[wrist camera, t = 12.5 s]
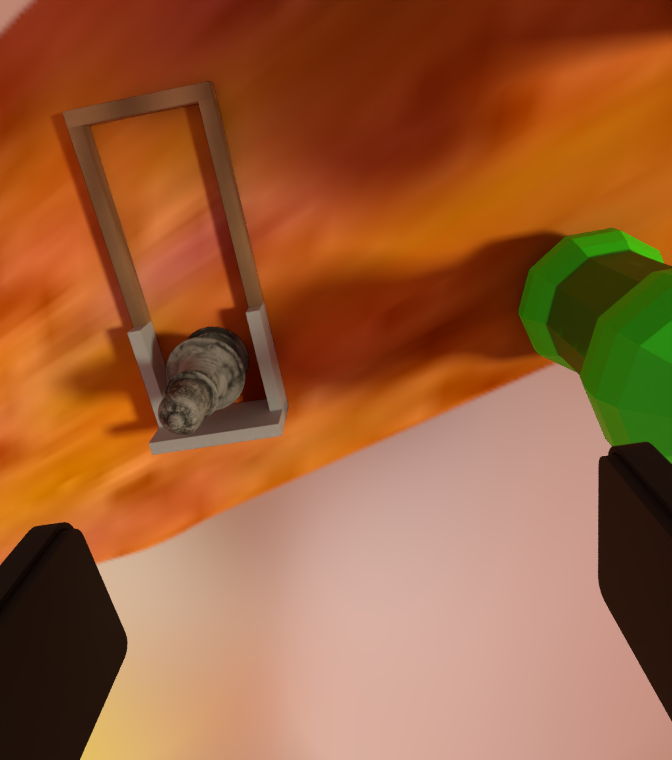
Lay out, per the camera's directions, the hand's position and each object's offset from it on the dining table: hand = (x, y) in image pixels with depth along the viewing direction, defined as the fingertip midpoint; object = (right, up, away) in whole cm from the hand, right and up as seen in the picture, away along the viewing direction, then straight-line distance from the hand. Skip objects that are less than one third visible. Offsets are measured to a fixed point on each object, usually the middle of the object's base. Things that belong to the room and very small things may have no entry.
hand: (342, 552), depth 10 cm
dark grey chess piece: (-10, +5, +35) cm, 36 cm away
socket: (-10, +5, +34) cm, 36 cm away
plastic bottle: (+18, +10, +32) cm, 38 cm away
